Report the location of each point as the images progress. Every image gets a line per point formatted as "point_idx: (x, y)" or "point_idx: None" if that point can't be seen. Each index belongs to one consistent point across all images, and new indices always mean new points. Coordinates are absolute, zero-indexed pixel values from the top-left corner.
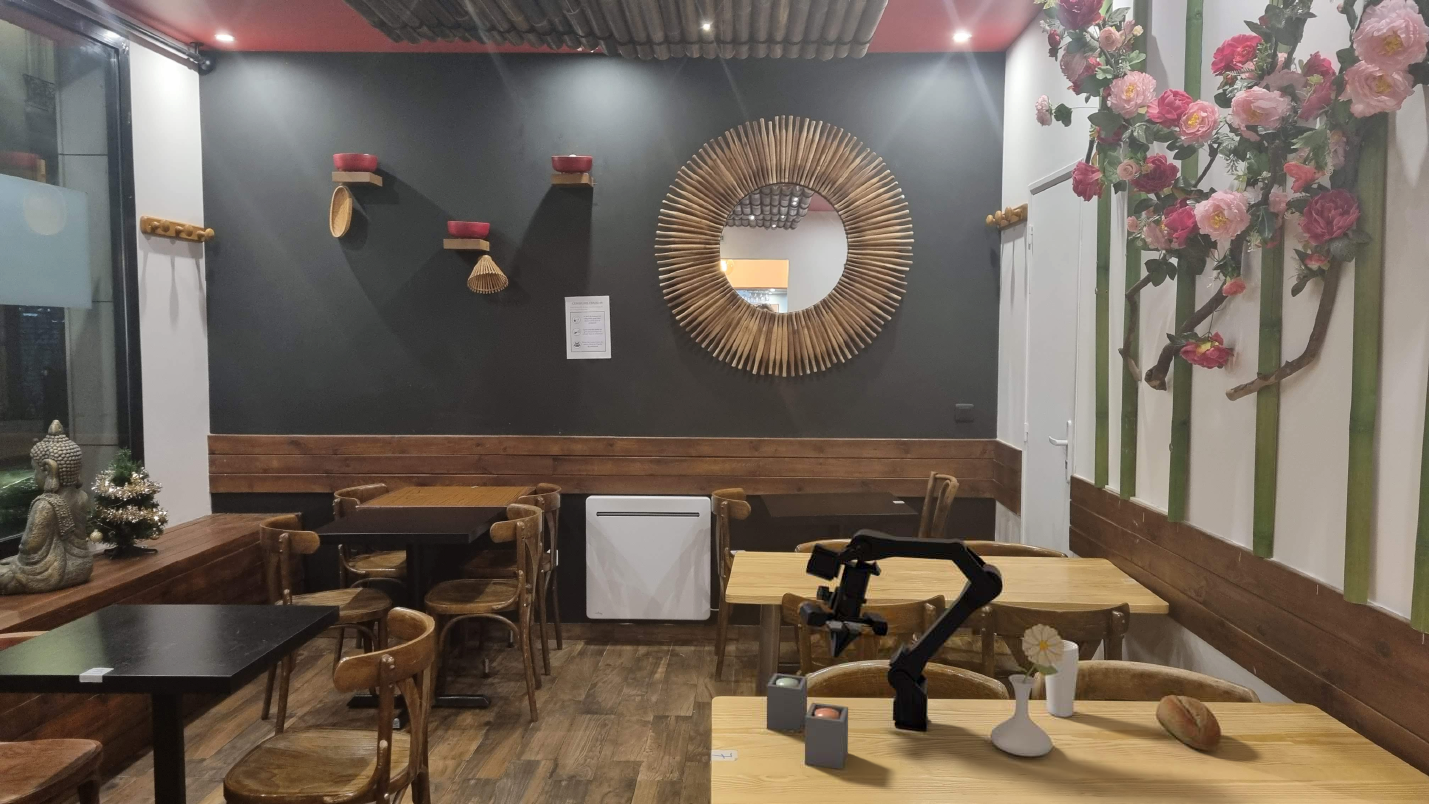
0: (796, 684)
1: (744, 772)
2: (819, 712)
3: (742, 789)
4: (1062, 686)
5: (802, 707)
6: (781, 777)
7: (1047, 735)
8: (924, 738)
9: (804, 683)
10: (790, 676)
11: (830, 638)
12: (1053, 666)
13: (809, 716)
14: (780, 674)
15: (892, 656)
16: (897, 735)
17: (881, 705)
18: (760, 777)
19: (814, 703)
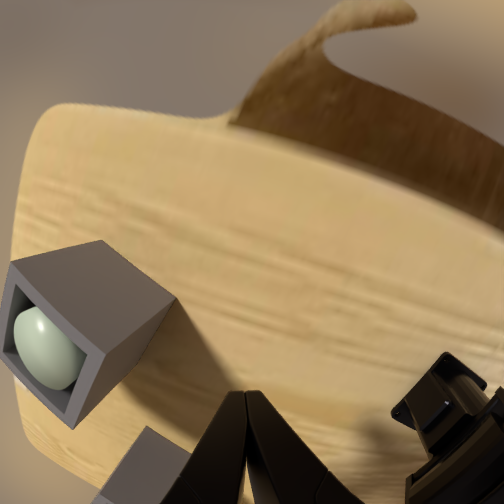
0: (65, 384)
1: (41, 424)
2: None
3: (43, 451)
4: None
5: (118, 374)
6: (86, 461)
7: None
8: (408, 457)
9: (91, 390)
10: (48, 318)
11: (172, 489)
12: None
13: None
14: (23, 282)
15: (501, 494)
16: (367, 441)
17: (447, 275)
18: (60, 445)
19: (104, 499)
